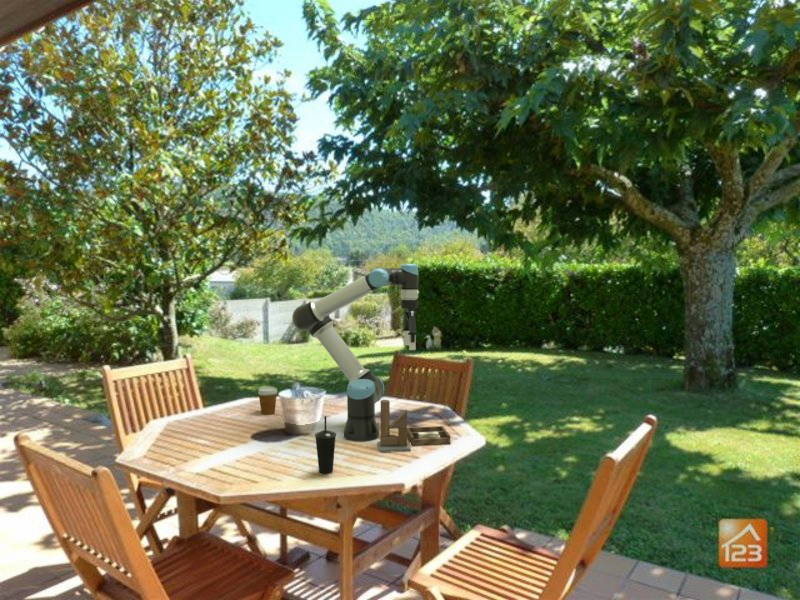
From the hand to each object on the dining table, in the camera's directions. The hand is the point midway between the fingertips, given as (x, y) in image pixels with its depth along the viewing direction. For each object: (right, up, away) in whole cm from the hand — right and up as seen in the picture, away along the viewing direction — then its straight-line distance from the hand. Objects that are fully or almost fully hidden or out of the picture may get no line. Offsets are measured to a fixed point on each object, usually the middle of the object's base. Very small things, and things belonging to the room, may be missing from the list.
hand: (409, 347), depth 256 cm
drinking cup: (-31, -40, -49) cm, 70 cm away
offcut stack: (+8, -38, -15) cm, 42 cm away
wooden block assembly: (-7, -38, -22) cm, 44 cm away
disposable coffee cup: (-69, -35, +30) cm, 83 cm away
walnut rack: (+7, -38, -12) cm, 40 cm away
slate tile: (-7, -38, -22) cm, 45 cm away
